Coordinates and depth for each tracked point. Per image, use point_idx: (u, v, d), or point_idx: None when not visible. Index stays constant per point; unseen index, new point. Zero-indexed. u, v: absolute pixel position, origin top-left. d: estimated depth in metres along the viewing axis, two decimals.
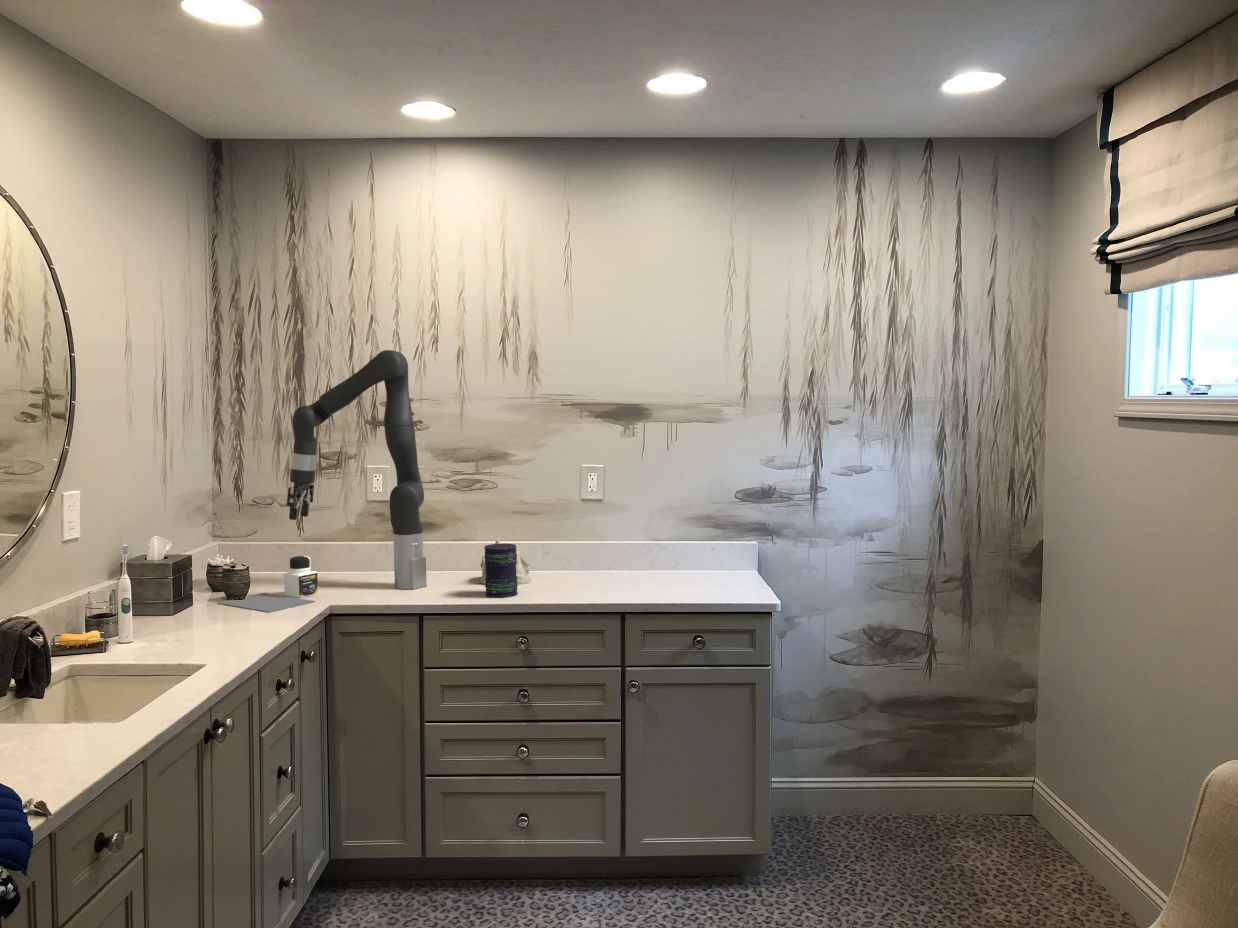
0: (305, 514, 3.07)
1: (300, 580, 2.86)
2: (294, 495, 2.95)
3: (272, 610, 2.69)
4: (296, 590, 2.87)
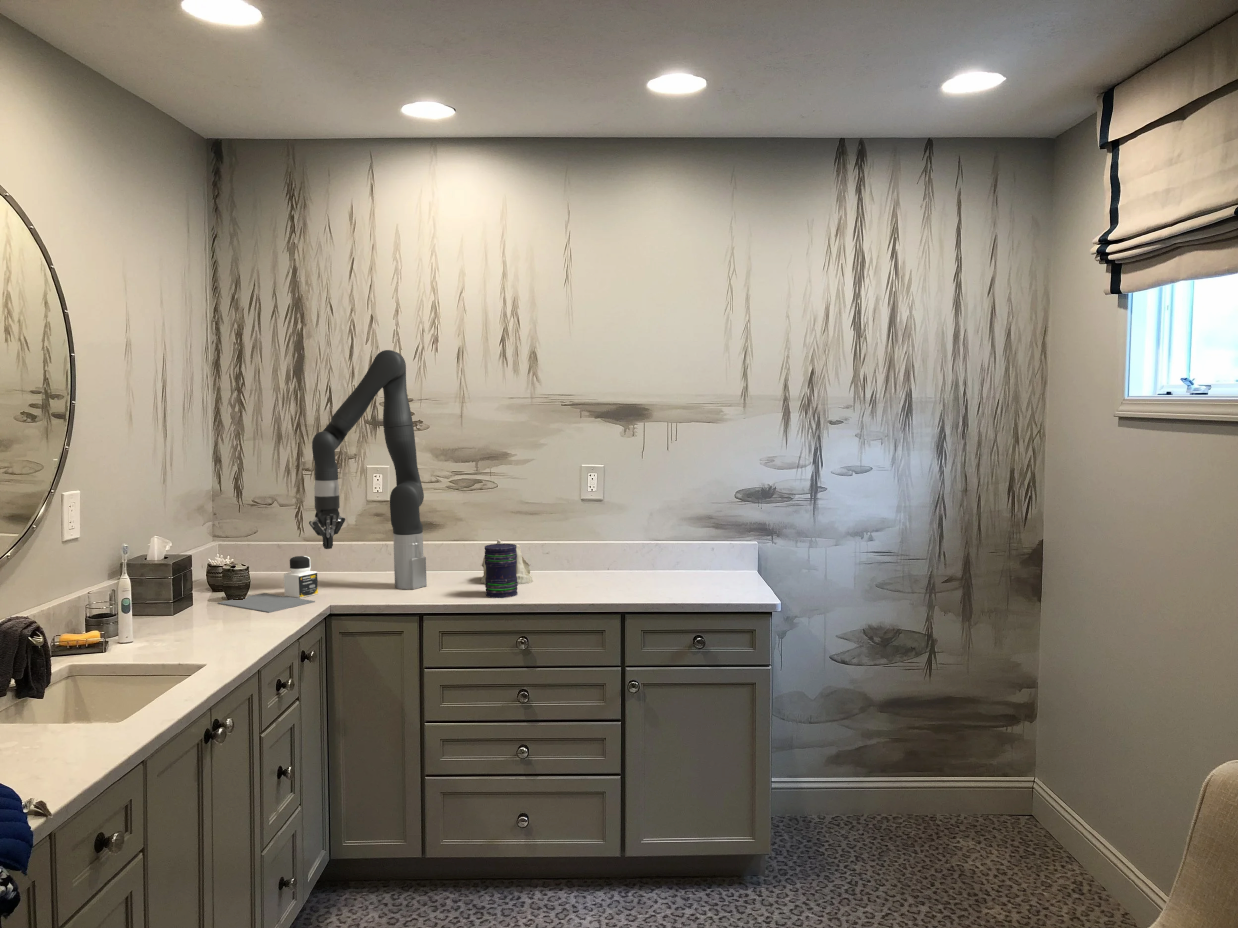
0: None
1: (300, 580, 2.86)
2: (317, 528, 2.94)
3: (272, 610, 2.69)
4: (296, 590, 2.87)
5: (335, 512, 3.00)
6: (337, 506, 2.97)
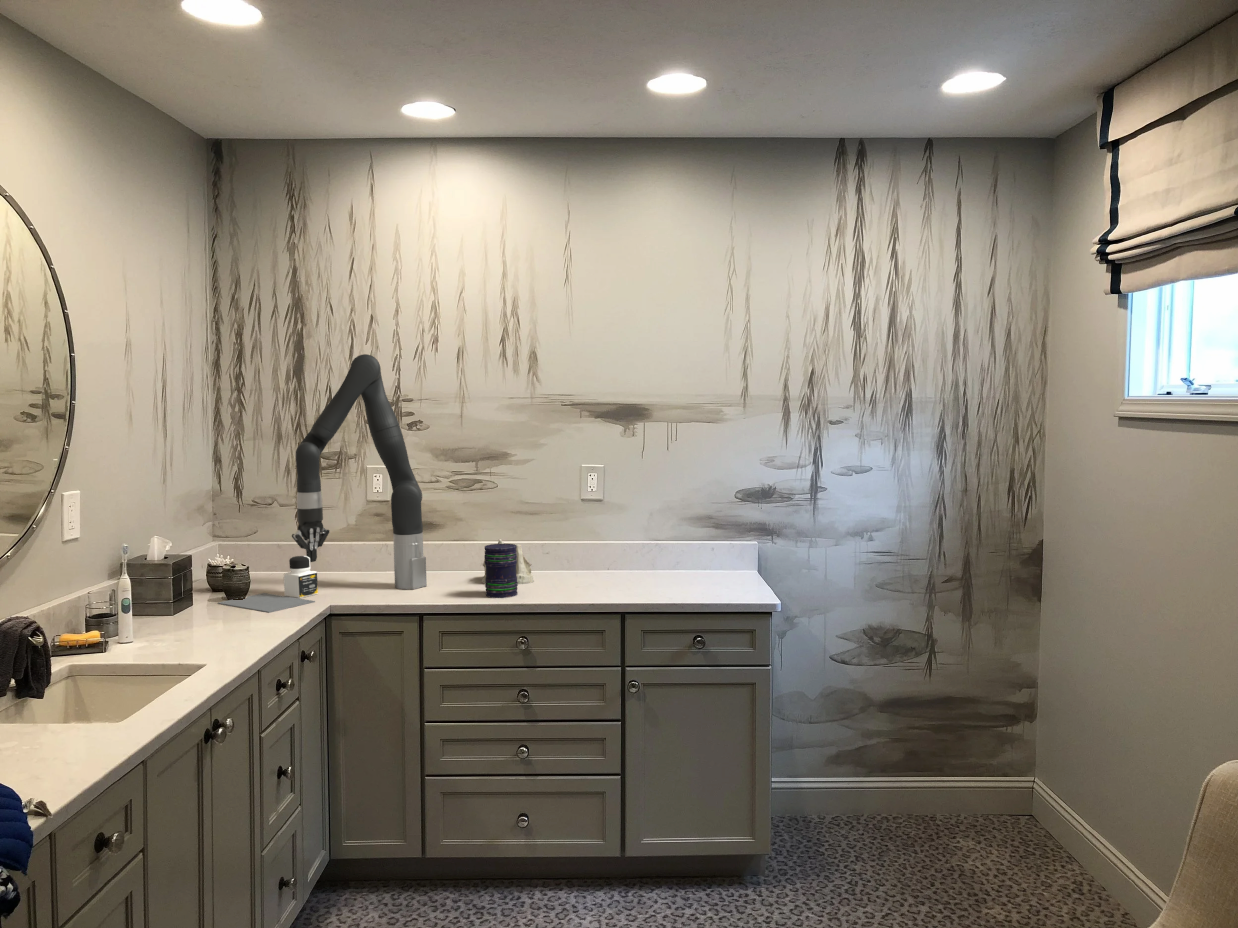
0: None
1: (300, 580, 2.86)
2: (300, 541, 2.89)
3: (272, 610, 2.69)
4: (296, 590, 2.87)
5: (318, 524, 2.95)
6: (320, 518, 2.92)
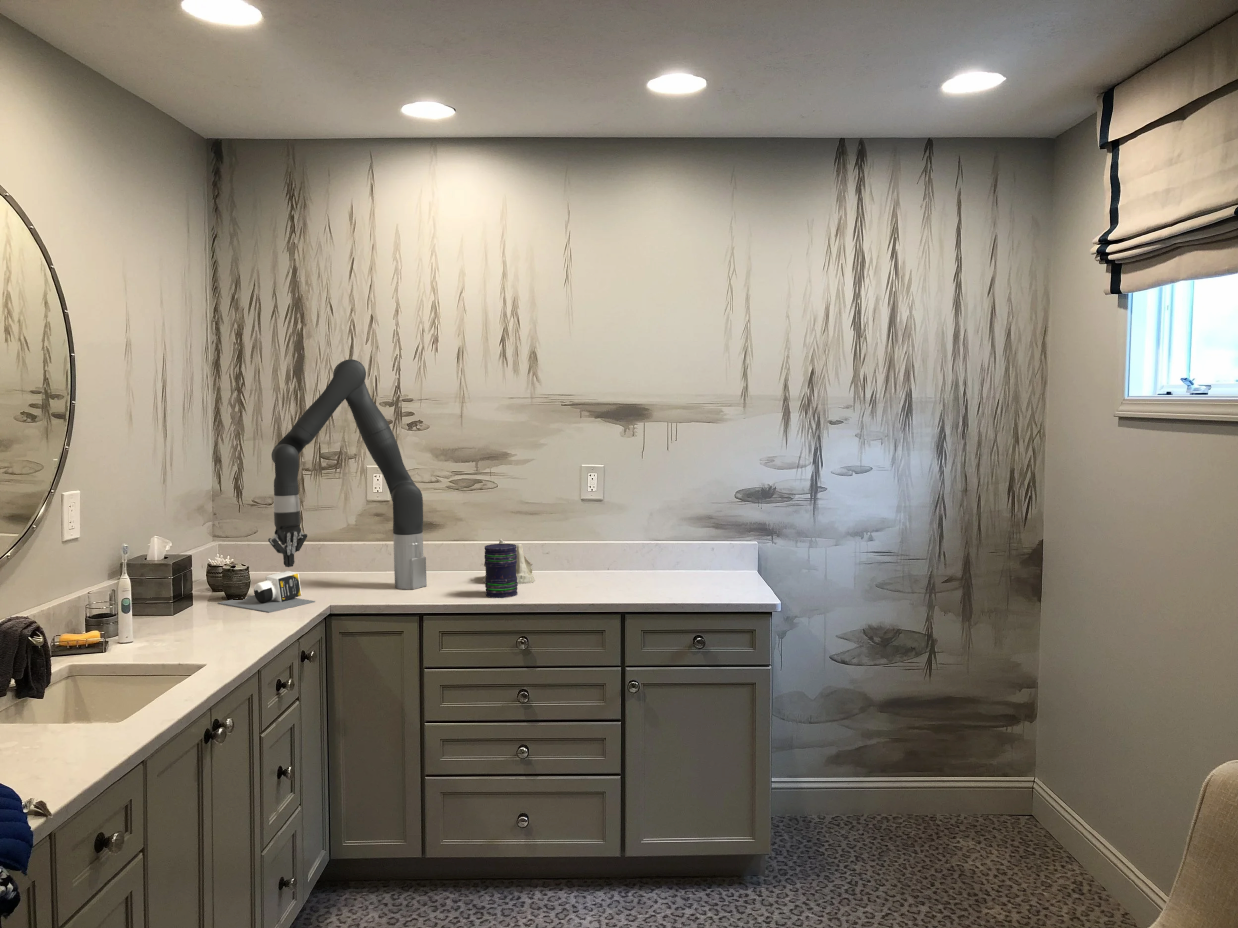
0: None
1: (285, 598, 2.81)
2: (276, 545, 2.82)
3: (272, 610, 2.69)
4: None
5: (296, 528, 2.88)
6: (298, 522, 2.85)
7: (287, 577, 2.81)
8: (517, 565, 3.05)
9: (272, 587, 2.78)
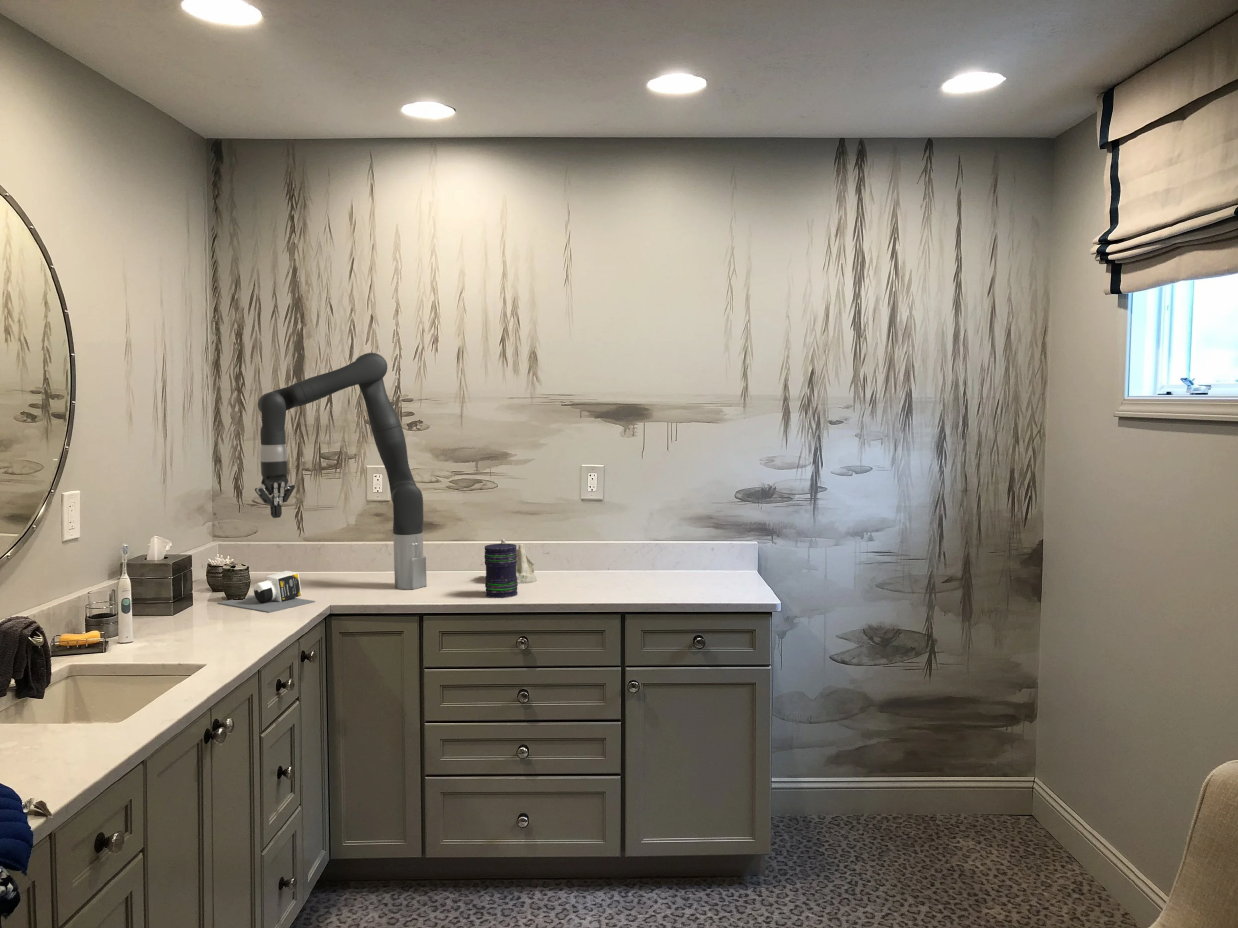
0: None
1: (285, 598, 2.81)
2: (263, 495, 2.78)
3: (272, 610, 2.69)
4: None
5: (283, 479, 2.83)
6: (285, 472, 2.81)
7: (287, 577, 2.81)
8: (519, 565, 3.06)
9: (272, 587, 2.78)
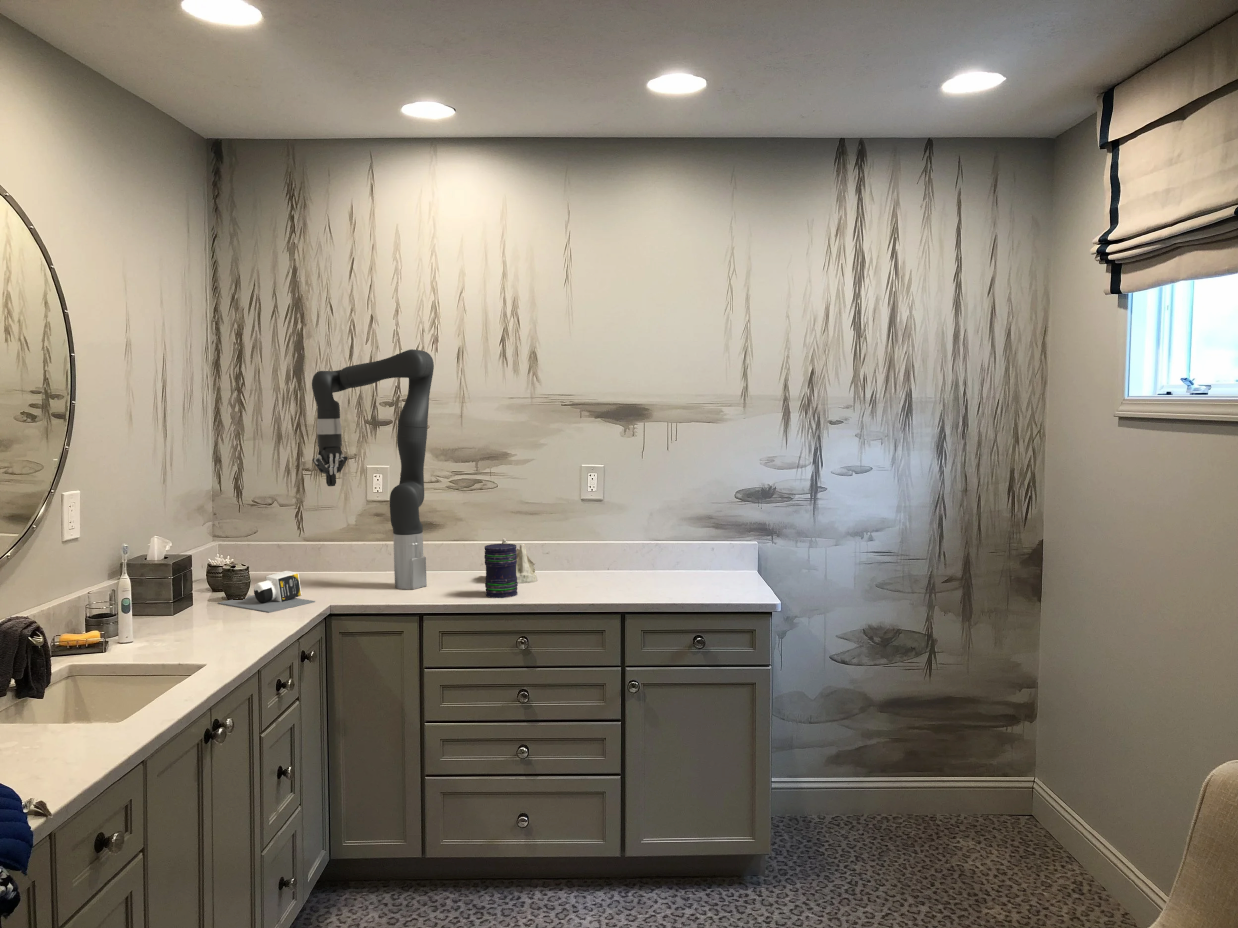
0: None
1: (285, 598, 2.81)
2: (320, 465, 3.02)
3: (272, 610, 2.69)
4: None
5: (338, 450, 3.08)
6: (339, 444, 3.05)
7: (287, 577, 2.81)
8: (520, 564, 3.06)
9: (272, 587, 2.78)
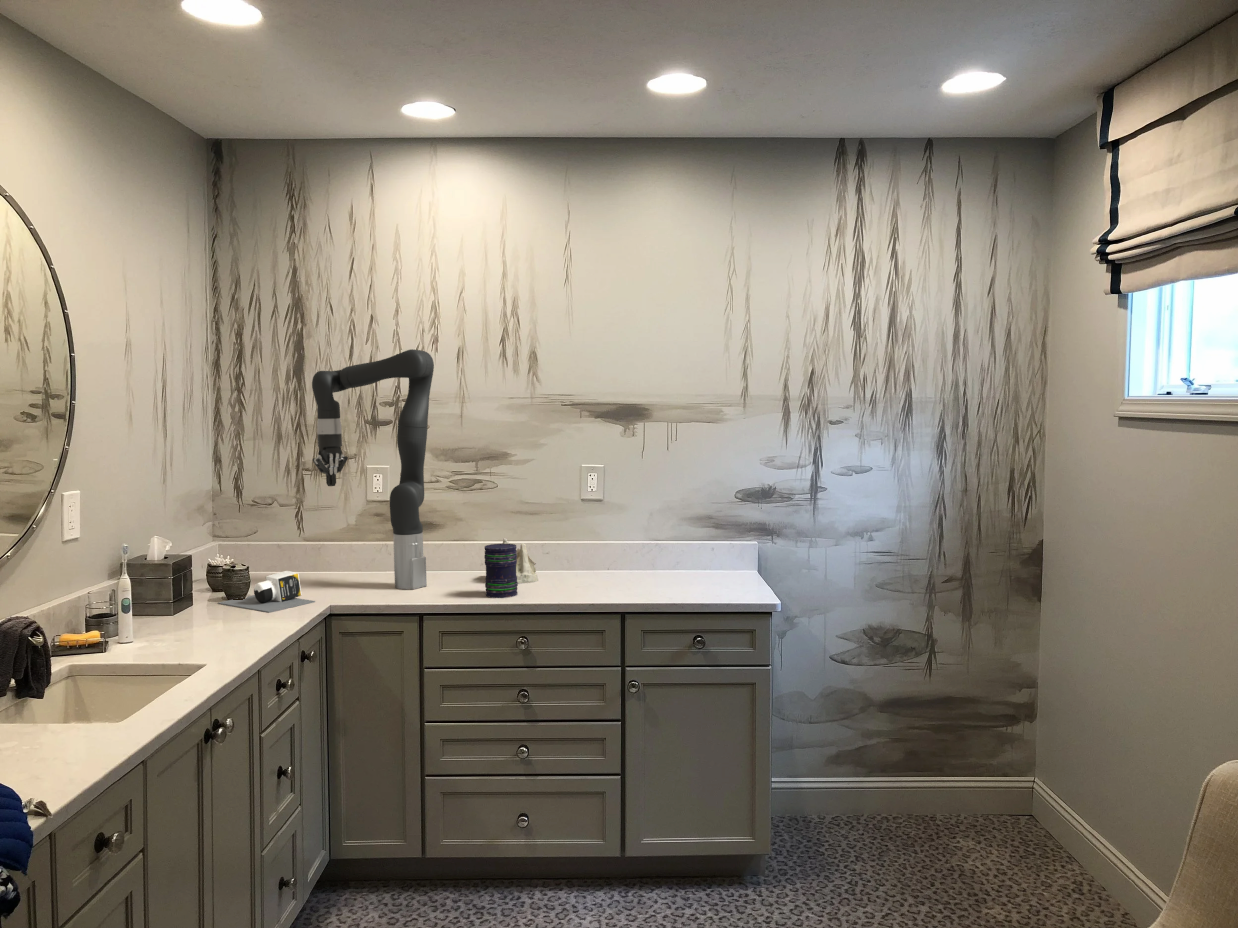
0: None
1: (285, 598, 2.81)
2: (320, 465, 3.02)
3: (272, 610, 2.69)
4: None
5: (338, 450, 3.08)
6: (340, 444, 3.05)
7: (287, 577, 2.81)
8: (521, 564, 3.07)
9: (272, 587, 2.78)
